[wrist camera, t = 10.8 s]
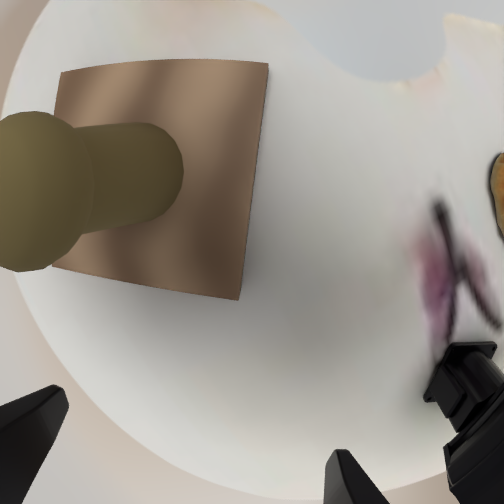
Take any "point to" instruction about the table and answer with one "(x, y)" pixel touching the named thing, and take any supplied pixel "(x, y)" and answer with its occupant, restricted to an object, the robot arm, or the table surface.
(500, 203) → the pastry
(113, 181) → the olive rounded upright piece
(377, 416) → the table surface
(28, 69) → the table surface
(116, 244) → the walnut board
